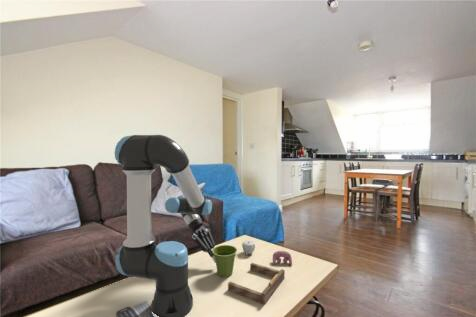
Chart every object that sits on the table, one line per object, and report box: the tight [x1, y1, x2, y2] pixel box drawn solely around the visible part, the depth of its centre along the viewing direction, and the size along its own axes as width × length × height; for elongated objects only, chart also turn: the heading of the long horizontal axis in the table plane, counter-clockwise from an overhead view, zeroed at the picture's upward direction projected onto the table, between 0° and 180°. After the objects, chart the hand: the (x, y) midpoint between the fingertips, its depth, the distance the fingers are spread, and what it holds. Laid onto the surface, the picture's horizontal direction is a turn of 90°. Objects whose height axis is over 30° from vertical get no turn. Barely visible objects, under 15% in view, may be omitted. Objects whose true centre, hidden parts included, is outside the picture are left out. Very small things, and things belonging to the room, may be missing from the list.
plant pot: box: [212, 244, 238, 278], centre depth 110 cm, size 12×12×11 cm
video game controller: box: [272, 250, 293, 266], centre depth 120 cm, size 10×5×7 cm, turn 85°
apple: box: [241, 240, 256, 255], centre depth 132 cm, size 8×8×7 cm
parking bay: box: [227, 262, 285, 305], centre depth 101 cm, size 17×21×5 cm
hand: (217, 261), depth 115 cm, fingers closed
